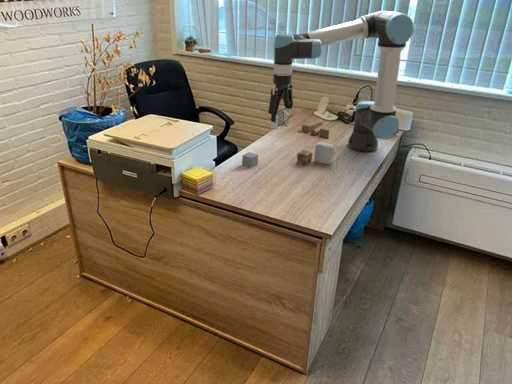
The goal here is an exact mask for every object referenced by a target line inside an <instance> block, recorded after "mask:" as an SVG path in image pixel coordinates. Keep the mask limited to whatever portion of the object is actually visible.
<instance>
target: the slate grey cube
mask: <svg viewBox="0 0 512 384" xmlns="http://www.w3.org/2000/svg"><path fill="white" fill-rule="evenodd" d="M241 160H242V163H241V165H242V167H246V168H250V169H253V168H255V167H256V166H258V165H259V164H258V163H259V154H257V153H253V152H250V151H249V152H247V153H244V154H243V155H242V159H241Z"/></svg>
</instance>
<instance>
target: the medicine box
mask: <svg viewBox="0 0 512 384" xmlns="http://www.w3.org/2000/svg"><path fill="white" fill-rule="evenodd" d="M334 155H335V144H332V143H326V142H322V141H321V142H320V141H318V142H317V143H316V144H315V150H314V158H313V162H314V163H318V164H323V165H324V164H325V165H328V166H331V164H333V162H334V157H335V156H334Z"/></svg>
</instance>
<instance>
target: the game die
mask: <svg viewBox="0 0 512 384" xmlns="http://www.w3.org/2000/svg"><path fill="white" fill-rule="evenodd" d="M285 109H286V108H285V107H284V108H283V109H282V108H281V109H278V111H277V114H278V125H277V127H288V120H289V121H290V118H293V116H292V115H290V116H289V115H288V113H287V112H286V110H285ZM269 120H270V121H271V118H269Z"/></svg>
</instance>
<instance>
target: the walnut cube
mask: <svg viewBox="0 0 512 384" xmlns="http://www.w3.org/2000/svg"><path fill="white" fill-rule="evenodd" d="M296 156H297V157H296V164H299V165H304V166H308V165H309V164H312V160H313V159H312V158H313V151H309V150H305V149H302V150H300V151H298V152H297V154H296Z"/></svg>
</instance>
